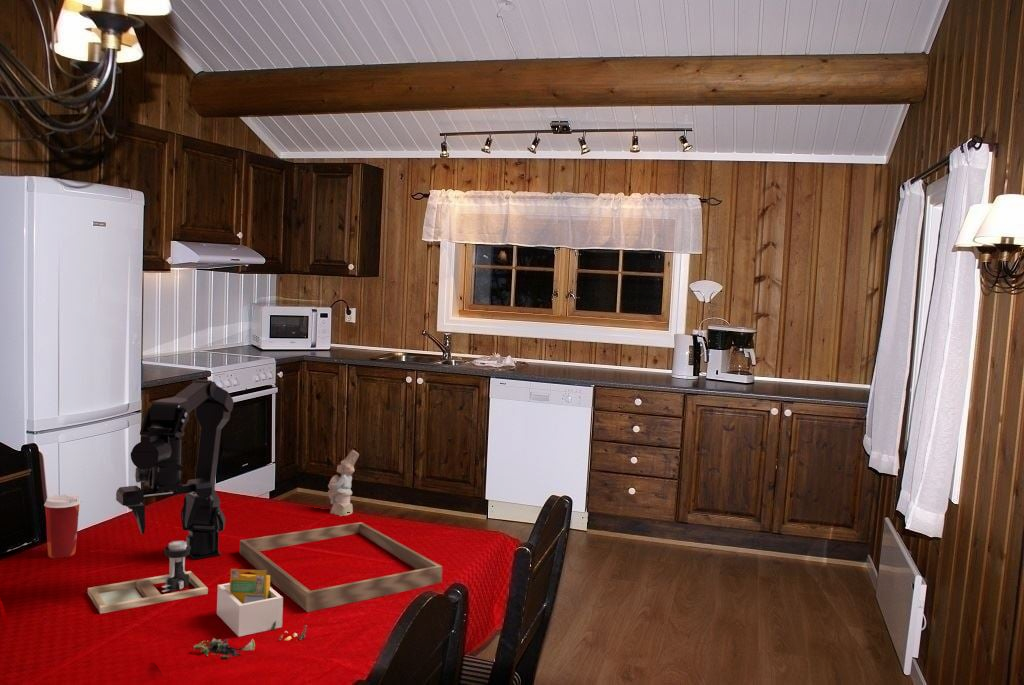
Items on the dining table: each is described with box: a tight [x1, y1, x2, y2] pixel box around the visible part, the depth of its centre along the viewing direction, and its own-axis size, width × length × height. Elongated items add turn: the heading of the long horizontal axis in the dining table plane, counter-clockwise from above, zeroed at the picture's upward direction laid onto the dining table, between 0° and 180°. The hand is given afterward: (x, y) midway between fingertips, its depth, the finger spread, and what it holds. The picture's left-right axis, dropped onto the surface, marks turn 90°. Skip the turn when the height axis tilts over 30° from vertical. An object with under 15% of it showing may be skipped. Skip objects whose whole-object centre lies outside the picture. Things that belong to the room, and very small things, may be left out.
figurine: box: [327, 449, 360, 517], centre depth 235 cm, size 9×8×20 cm
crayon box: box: [229, 568, 271, 604], centre depth 162 cm, size 7×3×12 cm, turn 91°
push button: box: [160, 540, 191, 593], centre depth 176 cm, size 7×5×10 cm
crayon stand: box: [216, 582, 284, 638], centre depth 162 cm, size 9×13×6 cm
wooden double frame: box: [87, 570, 209, 615], centre depth 173 cm, size 21×12×1 cm, turn 128°
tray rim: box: [239, 521, 443, 613], centre depth 193 cm, size 33×40×4 cm
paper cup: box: [43, 494, 82, 559], centre depth 192 cm, size 8×8×14 cm
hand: (165, 530), depth 176 cm, fingers open, 9 cm apart
